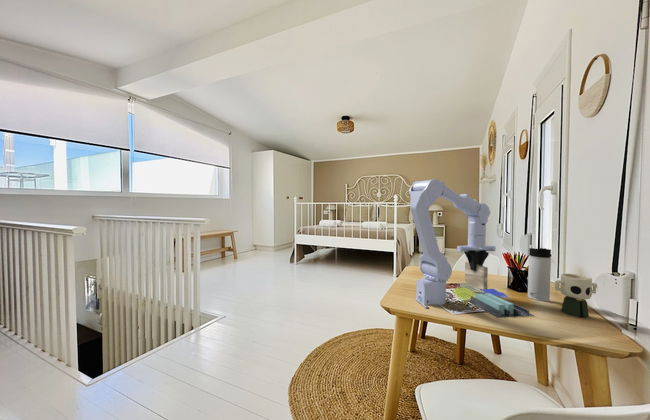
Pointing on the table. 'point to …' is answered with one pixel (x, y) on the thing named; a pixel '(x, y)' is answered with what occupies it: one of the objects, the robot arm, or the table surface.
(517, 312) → the rack
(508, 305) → the offcut
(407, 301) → the table surface
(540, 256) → the travel mug
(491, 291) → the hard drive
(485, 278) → the birch sheet
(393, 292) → the table surface
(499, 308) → the offcut
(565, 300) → the character mug
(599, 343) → the table surface
